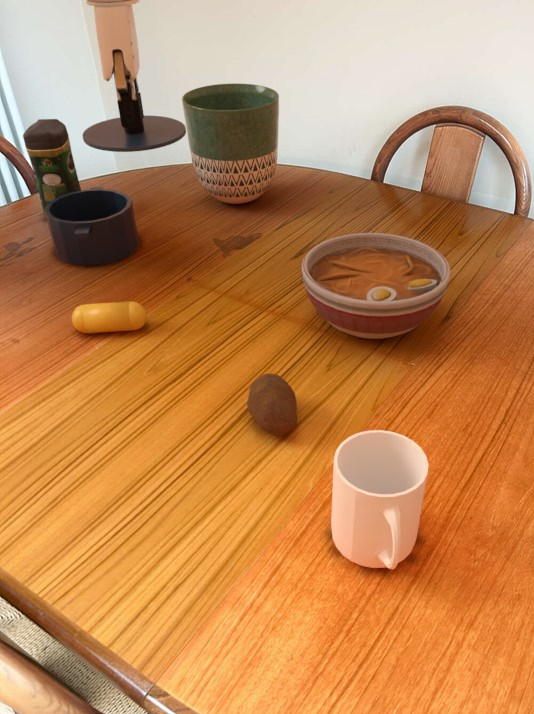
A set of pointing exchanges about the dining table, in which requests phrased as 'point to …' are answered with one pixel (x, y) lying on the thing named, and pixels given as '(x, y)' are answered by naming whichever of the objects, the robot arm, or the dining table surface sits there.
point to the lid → (134, 133)
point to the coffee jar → (51, 159)
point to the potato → (273, 404)
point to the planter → (233, 139)
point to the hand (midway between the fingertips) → (133, 121)
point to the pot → (92, 226)
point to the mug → (377, 497)
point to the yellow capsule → (109, 317)
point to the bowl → (375, 283)
